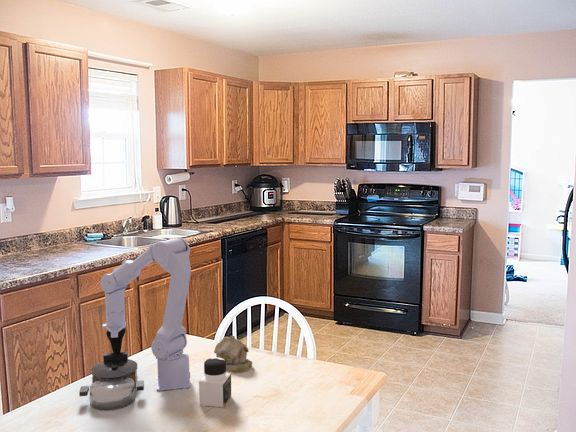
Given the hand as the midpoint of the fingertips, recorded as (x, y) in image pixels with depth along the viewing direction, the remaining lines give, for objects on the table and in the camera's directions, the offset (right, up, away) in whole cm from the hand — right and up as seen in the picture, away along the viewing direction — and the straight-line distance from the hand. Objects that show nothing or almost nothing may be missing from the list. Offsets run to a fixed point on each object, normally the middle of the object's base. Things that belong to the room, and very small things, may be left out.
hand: (116, 352), depth 174 cm
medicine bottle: (+34, -9, -19) cm, 40 cm away
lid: (+2, -3, -10) cm, 11 cm away
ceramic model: (+36, -6, +6) cm, 37 cm away
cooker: (+4, -8, -14) cm, 17 cm away
